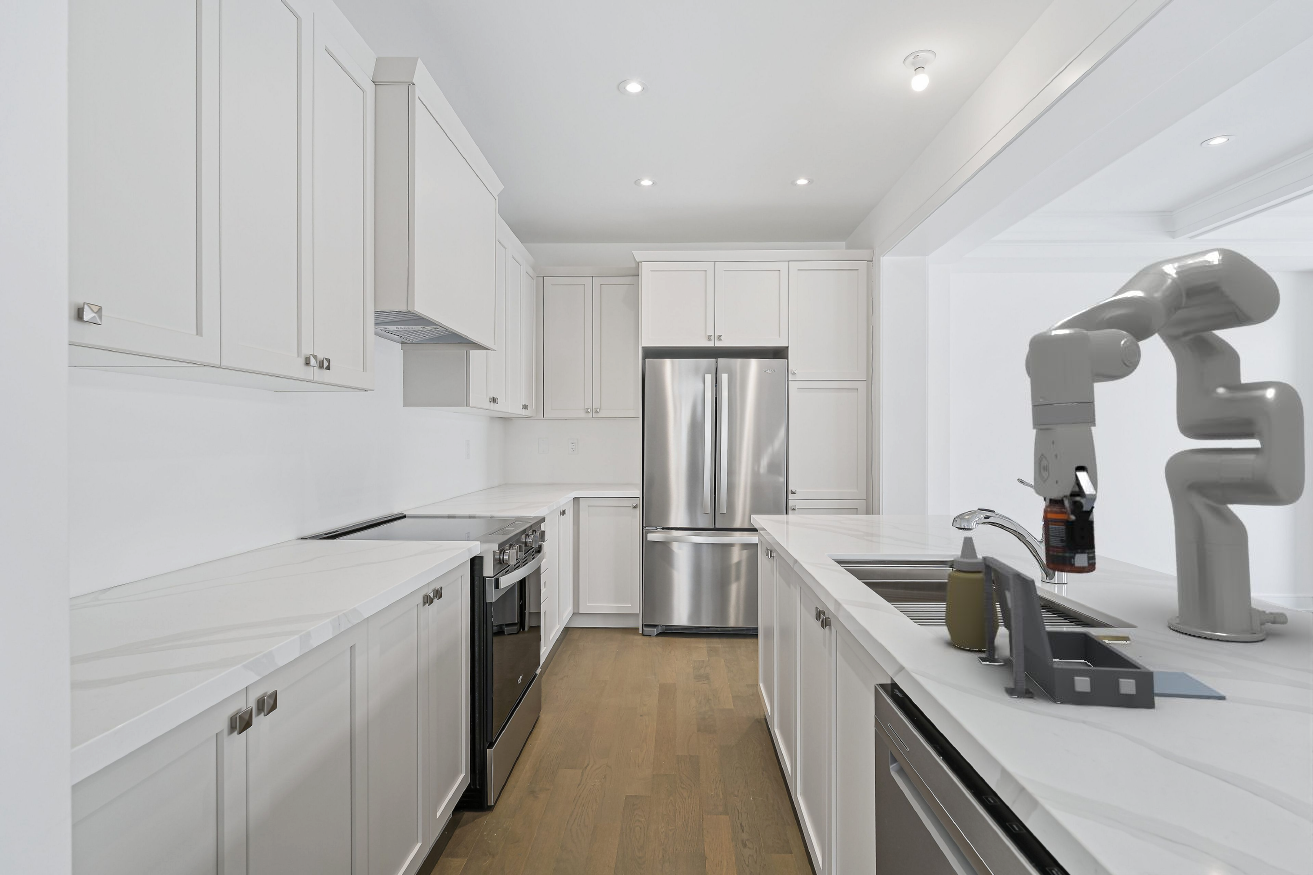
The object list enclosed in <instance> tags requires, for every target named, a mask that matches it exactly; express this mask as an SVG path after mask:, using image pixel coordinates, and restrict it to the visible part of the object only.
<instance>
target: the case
mask: <svg viewBox="0 0 1313 875" xmlns="http://www.w3.org/2000/svg"><path fill="white" fill-rule="evenodd" d="M1046 632H1047V636H1048V640H1049V645H1050V649H1051V653H1052V657H1053V659H1059V660H1084V661H1087V662H1088V663H1090V664H1091V665H1092V666H1093V667H1091V666H1074V665H1073V666H1071V665H1059V664H1057V662H1055V661H1053V662H1054V665H1051V666H1049V665H1048V664H1047V663H1045V662H1044V661H1043V660H1042V659H1041V658H1040V657H1038V656H1037V655H1036V654H1035V653H1034V652H1033V651H1031V650H1030V649H1029V648H1028V647H1027V646H1026V645H1024V644H1023V645H1024V669H1025V672H1026V673H1027V674H1028V675H1029V676H1030V677H1031V678H1032V679H1033V680H1034V681H1035V682H1036V683H1037V684H1038V685H1039V686H1040V687H1041V688H1042V689H1043V690H1044V691H1045V692H1046V693H1047V694H1048V695H1049V696H1050V697H1051V698H1052V699H1053V700H1054V701H1055V702H1060V703H1059V704H1063V703H1070V705H1081V704H1086V705H1085V706H1099V707H1100V706H1103V707H1118V706H1119V708H1120V706H1121V707H1122V708H1123V707H1124V708H1136V709H1137V708H1139V709H1156V703H1155V702H1156V701H1155V699H1156V698H1155V696H1154V677H1153V671H1154V670H1151V669H1150V668H1148V667H1146V666H1145V665H1143V664H1141V663H1140V662H1138V661H1136V660H1135V659H1134V658H1132V657H1130V656H1128V655H1127V654H1126V653H1124V652H1122V651H1120V650H1119V649H1118V648H1116V647H1114V646H1112V645H1111V644H1110V643H1106V642H1105V641H1103V640H1101V639H1100V638H1098V637H1096V636H1095V635H1096V634H1093V633H1092V632H1090V631H1089V630H1087V631H1086V630H1085V631H1084V630H1059V629H1058V630H1056V629H1046ZM1008 643H1009V644H1008V646H1009V658H1010V657H1011V658H1012V659H1013V650H1012V633H1010V632H1009V631H1008ZM1026 673H1025V674H1026ZM1027 674H1026V675H1027ZM1028 675H1027V676H1028ZM1029 676H1028V677H1029ZM1030 677H1029V678H1030ZM1031 678H1030V679H1031ZM1032 679H1031V680H1032ZM1033 680H1032V681H1033ZM1034 681H1033V682H1034ZM1035 682H1034V683H1035ZM1036 683H1035V684H1036ZM1037 684H1036V685H1037ZM1038 685H1037V686H1038ZM1039 686H1038V687H1039ZM1040 687H1039V688H1040ZM1041 688H1040V689H1041ZM1042 689H1041V690H1042ZM1043 690H1042V691H1043ZM1044 691H1043V692H1044ZM1045 692H1044V693H1045ZM1046 693H1045V694H1046ZM1047 694H1046V695H1047ZM1048 695H1047V696H1048ZM1049 696H1048V697H1049ZM1050 697H1049V698H1050ZM1051 698H1050V699H1051ZM1052 699H1051V700H1052ZM1053 700H1052V701H1053ZM1054 701H1053V702H1054ZM1055 702H1054V703H1055ZM1071 703H1072V704H1071ZM1087 704H1088V705H1087Z"/></svg>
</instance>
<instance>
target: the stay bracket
mask: <svg viewBox="0 0 1313 875" xmlns="http://www.w3.org/2000/svg"><path fill="white" fill-rule="evenodd" d="M991 557H992V556H987V555H986V556H983V555H981V559H982V570H983V596H984V621H985V646H986V650H985V656H977V659H978V658H979V659H980V660H981V661H982V662H989V663H1004V664H1005V662H1004V661H1003V660H1002V659H1001V658H1000V657H997V656H996V644H995V642H996V638H995V637H994V612H993V588H994V586H993V587H992V581H993V575H992V567H993V568H995V569H996V570H998V571H1000V572H1001V573H1003V574H1005V575H1006V576H1008V577H1010V601H1011V626H1012V650H1013V661H1012V670H1013V671H1012V673H1013V687H1011V686H1010V687H1009V686H1007V687H1004V692H1005V693H1006V694H1007V693H1008V694H1009V695H1010V696H1017V697H1016V698H1021V697H1036V694H1035V693H1034V692H1033V691H1032V690H1031V689H1030V688H1027V687H1026V676H1025V675H1026V673H1025V669H1024V645H1023V621H1022V597H1021V574H1020V573H1018V572H1016V571H1014V570H1012V569H1010V568H1008V567H1007V566H1005V565H1003V564H1001V563H999V562H998V561H996V560H994V559H992V558H991ZM1008 694H1007V695H1008ZM1009 695H1008V696H1009ZM1010 696H1009V697H1010Z"/></svg>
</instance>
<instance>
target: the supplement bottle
mask: <svg viewBox="0 0 1313 875" xmlns="http://www.w3.org/2000/svg"><path fill="white" fill-rule="evenodd" d="M1069 495H1070V497H1081V494H1069ZM1051 500H1052V502H1051V503H1050V504H1049V505H1047V506H1045V505H1044V508H1043V513H1042V514H1043V515H1042V516H1043V533H1044V553H1045V554H1044V555H1045V556H1044V557H1045V567H1046V568H1047V569H1049V571H1050V570H1051V571H1053V572H1058V573H1066V574H1079V575H1080V574H1090V573H1093V572H1094V571H1096V569H1097V567H1096V565H1097V558H1096V542H1095V541H1096V539H1095V538H1096V537H1095V521H1094V519H1093V536H1094V549H1093V550H1068V549H1067V548H1066V538H1065V520H1068V517H1067V513H1066V508H1065V503H1064V498H1062V499H1059V500H1057V499H1051ZM1075 505H1076V503H1073V508H1075Z"/></svg>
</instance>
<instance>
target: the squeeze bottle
mask: <svg viewBox="0 0 1313 875" xmlns="http://www.w3.org/2000/svg"><path fill="white" fill-rule="evenodd" d="M975 547H976V546H975V544H974V539H973V537H972V536H964V537H963V541H962V546H961V552H960V556H959V557H958V556H957V557H954V558H953V568H954V569H953V570H951V571H950V572H949V573H948V574H947V585H946V596H945V597H946V599H945V600H946V601H945V611H944V614H945V615H944V623H945V627H946V629H947V631H948V634H949V637H950V639H951V642H952V644H953V646H955V645H957V646H959V647H963V648H969V649H978V650H981V651H983V650H982V649H986V646H985V621H984V596H983V570H982V557H981V558H980V557H978V555H977V551H976V550H977V549H976V548H975ZM992 587H993V612H994V637H995V639H996V638H997V635H998V631H999V629H1000V623H999V616H998V609H997V603H996V602H997V601H996V596H995V587H994V580H992ZM957 646H956V647H957ZM959 647H958V648H959ZM963 648H962V649H963ZM978 650H977V651H978Z"/></svg>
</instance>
